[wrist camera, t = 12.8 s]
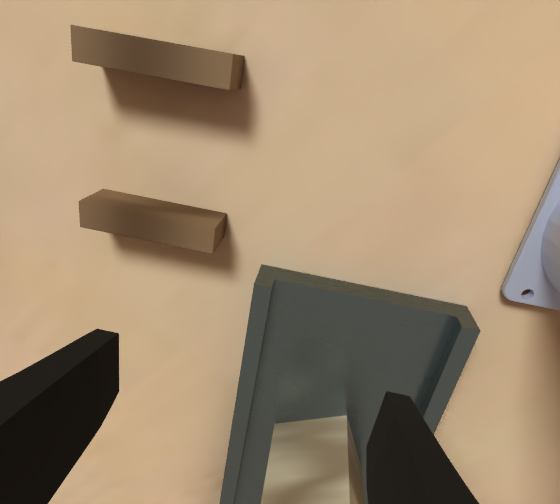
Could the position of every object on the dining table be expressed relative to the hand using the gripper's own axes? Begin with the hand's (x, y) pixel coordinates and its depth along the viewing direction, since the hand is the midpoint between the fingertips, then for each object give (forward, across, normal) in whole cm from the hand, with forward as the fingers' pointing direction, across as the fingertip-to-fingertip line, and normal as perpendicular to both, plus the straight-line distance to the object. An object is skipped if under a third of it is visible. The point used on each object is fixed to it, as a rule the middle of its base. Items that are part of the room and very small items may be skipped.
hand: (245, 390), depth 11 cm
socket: (+9, +6, -4) cm, 12 cm away
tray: (+9, -4, +11) cm, 15 cm away
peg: (+8, -4, +11) cm, 14 cm away
